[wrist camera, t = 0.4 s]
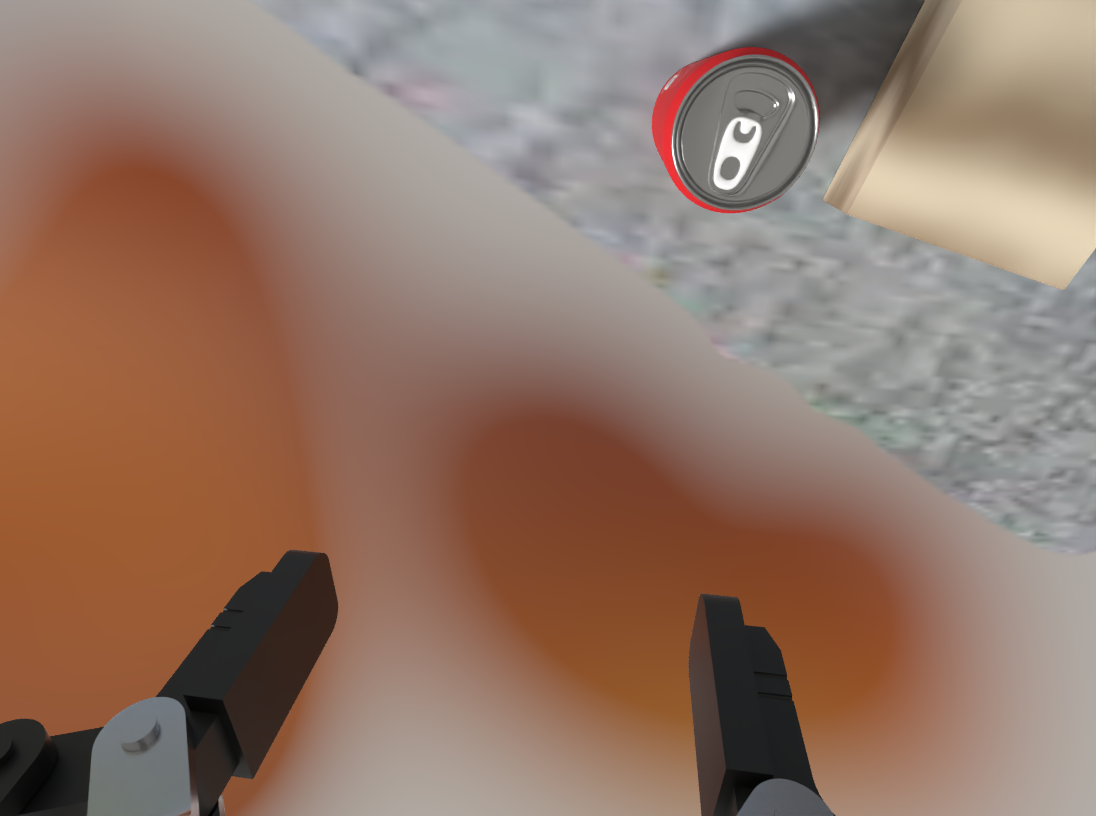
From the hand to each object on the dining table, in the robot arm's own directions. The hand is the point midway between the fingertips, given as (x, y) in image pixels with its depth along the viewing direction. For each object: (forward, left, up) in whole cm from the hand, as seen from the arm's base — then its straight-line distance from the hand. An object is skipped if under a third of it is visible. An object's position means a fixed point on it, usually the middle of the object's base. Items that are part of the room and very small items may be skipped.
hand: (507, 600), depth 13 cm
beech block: (-16, +13, -25) cm, 33 cm away
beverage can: (-10, +1, -25) cm, 27 cm away
